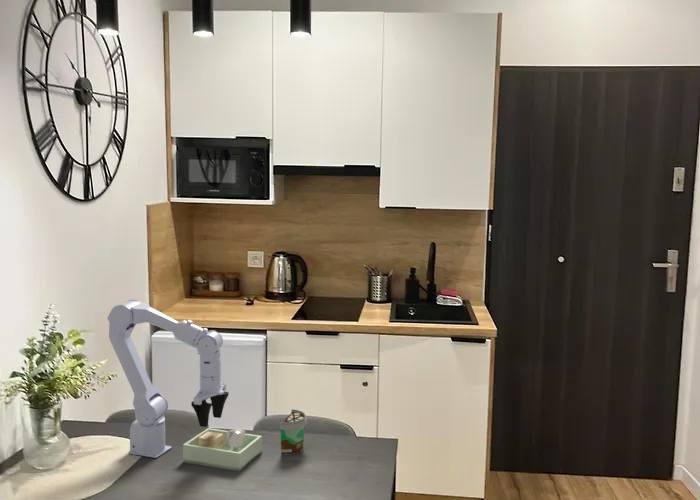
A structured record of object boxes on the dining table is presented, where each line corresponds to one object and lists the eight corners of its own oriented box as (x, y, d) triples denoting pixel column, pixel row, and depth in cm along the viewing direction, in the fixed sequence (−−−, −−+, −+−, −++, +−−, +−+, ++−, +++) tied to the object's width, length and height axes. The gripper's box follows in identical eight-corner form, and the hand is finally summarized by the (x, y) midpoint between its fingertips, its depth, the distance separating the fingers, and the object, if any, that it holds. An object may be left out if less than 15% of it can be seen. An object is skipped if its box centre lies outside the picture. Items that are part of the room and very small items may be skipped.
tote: (183, 462, 193) (182, 444, 193) (208, 444, 206) (208, 428, 205) (239, 471, 187) (239, 453, 187) (262, 452, 200) (262, 435, 200)
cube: (198, 454, 196) (198, 437, 196) (208, 448, 201) (208, 431, 200) (214, 457, 195) (214, 440, 194) (223, 450, 199) (223, 433, 199)
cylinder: (225, 459, 193) (226, 434, 192) (227, 452, 198) (228, 428, 197) (243, 459, 193) (244, 435, 192) (245, 453, 198) (246, 429, 197)
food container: (300, 458, 196) (300, 424, 195) (279, 456, 198) (279, 422, 197) (311, 442, 208) (312, 410, 207) (291, 440, 210) (292, 408, 209)
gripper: (209, 383, 187) (210, 432, 189) (235, 369, 201) (235, 415, 202) (186, 380, 190) (187, 428, 191) (213, 367, 203) (213, 412, 205)
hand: (210, 421), depth 197 cm, fingers open, 7 cm apart
